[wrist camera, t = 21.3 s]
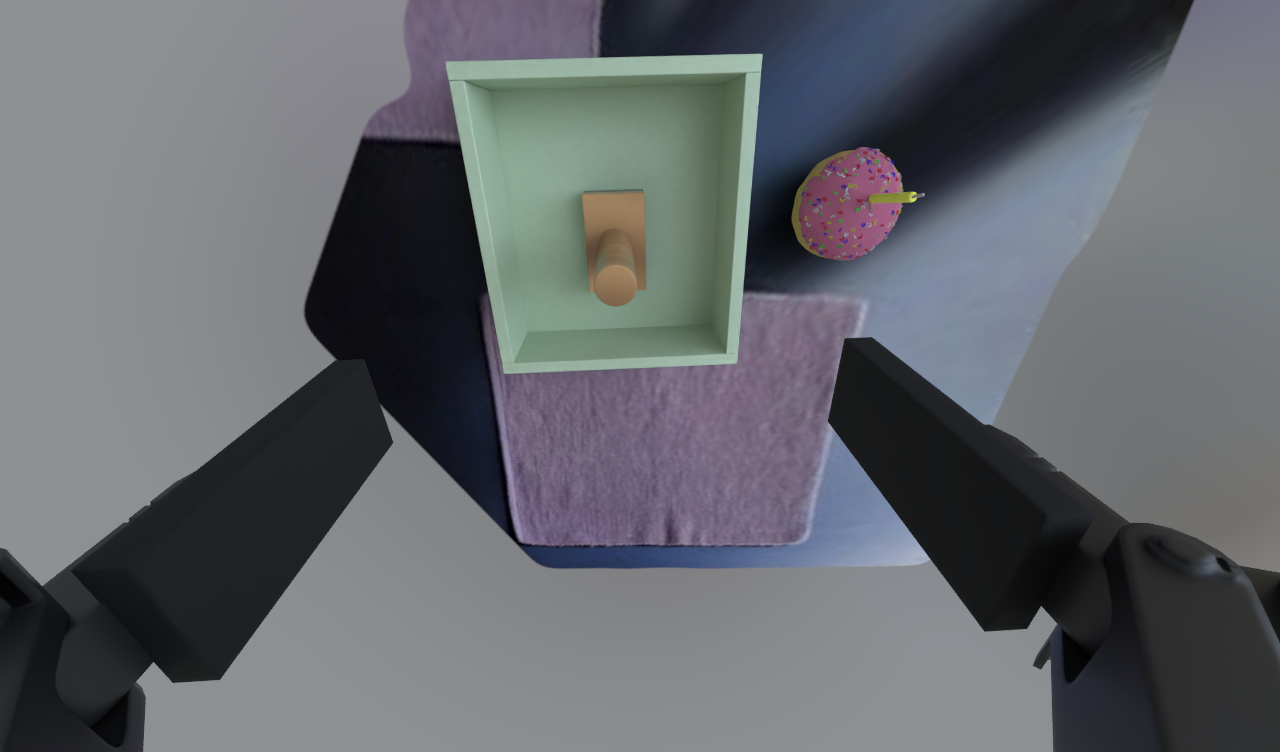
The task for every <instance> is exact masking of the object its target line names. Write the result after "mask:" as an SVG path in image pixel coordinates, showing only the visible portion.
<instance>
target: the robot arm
mask: <svg viewBox="0 0 1280 752" xmlns="http://www.w3.org/2000/svg"><path fill="white" fill-rule="evenodd" d="M828 422H829V424H830V425H831V426H832V428H833V429H834V430H835V432H836V433H837V434H838V436H839V437H840V438H841V440H842V441H843V442H844V444H845V445H846V446H847V448H848V449H849V450H850V452H851V453H852V454H853V456H854V457H855V458H856V460H857V461H858V462H859V464H860V465H861V467H862V468H863V469H864V471H865V472H866V473H867V475H868V476H869V477H870V479H871V480H872V481H873V483H874V484H875V485H876V487H877V488H878V489H879V491H880V492H881V493H882V495H883V496H884V497H885V499H886V500H887V501H888V503H889V504H890V505H891V507H892V508H893V509H894V511H895V512H896V513H897V515H898V516H899V517H900V519H901V520H902V521H903V523H904V524H905V525H906V527H907V528H908V530H909V531H910V532H911V534H912V535H913V536H914V538H915V539H916V540H917V542H918V543H919V544H920V546H921V547H922V548H923V550H924V551H925V552H926V554H927V555H928V556H929V558H930V559H931V560H932V562H933V563H934V564H935V566H936V567H937V568H938V570H939V571H940V572H941V574H942V575H943V576H944V578H945V579H946V580H947V582H948V583H949V584H950V586H951V587H952V588H953V590H954V591H955V593H956V594H957V595H958V596H959V598H960V599H961V600H962V602H963V603H964V604H965V606H966V607H967V608H968V610H969V611H970V612H971V614H972V615H973V616H974V618H975V619H976V621H977V622H978V623H979V625H980V626H981V627H982V629H983V630H984V631H1000V630H1016V629H1027V628H1028V626H1029V625H1030V623H1031V621H1032V619H1033V618H1034V617H1035V615H1036V613H1037V611H1038V610H1039V608H1040V606H1042V607H1043V608H1044V609H1045V610H1046V612H1047V613H1048V614H1049V615H1050V616H1051V617H1052V618H1053V619H1054V620H1055V621H1056V623H1057V626H1056V627H1055V629H1054V630H1053V632H1052V633H1051V635H1050V636H1049V638H1048V639H1047V641H1046V642H1045V644H1044V645H1043V647H1042V648H1041V650H1040V651H1039V653H1038V655H1037V656H1036V659H1035V661H1034V664H1033V666H1035V667H1037V668H1039V669H1042V667H1043V666H1044V664H1045V663H1046V661H1047V660H1049V659H1051V680H1052V681H1051V682H1052V718H1053V752H1280V573H1278V572H1272V571H1266V570H1260V569H1255V568H1249V567H1244V566H1239V565H1237V564H1236V563H1235V562H1233V561H1232V560H1231V559H1229V558H1228V557H1227V556H1225V555H1224V554H1223V553H1222V552H1220V551H1219V550H1217V549H1215V548H1213V547H1211V546H1210V545H1207V544H1206V543H1204V542H1202V541H1200V540H1198V539H1197V538H1194V537H1192V536H1189V535H1186V534H1184V533H1182V532H1179V531H1176V530H1174V529H1171V528H1167V527H1163V526H1159V525H1154V524H1150V523H1129V522H1128V521H1127V520H1125V519H1124V518H1123V517H1121V516H1120V515H1119V514H1117V513H1116V512H1115V511H1113V510H1112V509H1111V508H1109V507H1108V506H1107V505H1105V504H1104V503H1103V502H1101V501H1100V500H1099V499H1097V498H1096V497H1095V496H1093V495H1092V494H1091V493H1089V492H1088V491H1087V490H1085V489H1084V488H1083V487H1081V486H1080V485H1079V484H1077V483H1076V482H1075V481H1073V480H1072V479H1071V478H1069V477H1068V476H1066V475H1065V474H1064V473H1063V472H1057V470H1056V467H1055V466H1053V465H1052V464H1051V463H1049V462H1048V461H1047V460H1045V459H1044V458H1039V457H1038V454H1037V453H1036V452H1035V451H1033V450H1032V449H1030V448H1029V447H1028V446H1027V445H1025V444H1024V443H1023V442H1021V441H1020V440H1018V439H1017V438H1016V437H1013V436H1011V435H1009V434H1007V433H1005V432H1003V431H1001V430H999V429H997V428H995V427H993V426H991V425H984V424H982V423H981V422H980V421H978V420H977V419H976V418H975V417H973V416H972V415H971V414H969V413H968V412H967V411H966V410H964V409H963V408H962V407H961V406H959V405H958V404H957V403H955V402H954V401H953V400H952V399H950V398H949V397H948V396H946V395H945V394H944V393H943V392H941V391H940V390H939V389H937V388H936V387H935V386H934V385H932V384H931V383H930V382H928V381H927V380H926V379H925V378H923V377H922V376H921V375H920V374H918V373H917V372H916V371H914V370H913V369H912V368H911V367H909V366H908V365H907V364H905V363H904V362H903V361H902V360H900V359H899V358H898V357H896V356H895V355H894V354H893V353H891V352H890V351H889V350H888V349H886V348H885V347H884V346H882V345H881V344H880V343H879V342H877V341H876V340H875V339H873V338H872V337H867V338H845V340H844V345H843V349H842V354H841V359H840V364H839V369H838V374H837V379H836V384H835V389H834V394H833V399H832V404H831V408H830V413H829V418H828ZM392 444H393V441H392V438H391V435H390V432H389V429H388V426H387V423H386V420H385V417H384V415H383V412H382V409H381V406H380V403H379V400H378V397H377V395H376V392H375V389H374V386H373V383H372V380H371V377H370V375H369V372H368V369H367V366H366V363H365V360H364V359H360V360H337V361H334V362H333V363H332V364H330V365H329V366H328V367H327V368H325V369H324V370H323V371H322V372H320V373H319V374H318V375H317V376H315V377H314V378H313V379H312V380H310V381H309V382H308V383H306V384H305V385H304V386H303V387H301V388H300V389H299V390H298V391H296V392H295V393H294V394H292V395H291V396H290V397H289V398H287V399H286V400H285V401H284V402H282V403H281V404H280V405H279V406H277V407H276V408H275V409H274V410H272V411H271V412H270V413H269V414H268V415H266V416H265V417H264V418H262V419H261V420H260V421H258V422H257V423H256V424H255V425H253V426H252V427H251V428H250V429H248V430H247V431H246V432H245V433H243V434H242V435H241V436H240V437H238V438H237V439H236V440H235V441H233V442H232V443H231V444H230V445H228V446H227V447H226V448H224V449H223V450H222V451H221V452H219V453H218V454H217V455H216V456H214V457H213V458H212V459H211V460H209V461H208V462H207V463H206V464H204V465H203V466H202V467H200V468H199V469H198V470H197V471H195V472H193V473H191V474H190V475H188V476H186V477H184V478H182V479H181V480H179V481H177V482H175V483H174V484H173V485H171V486H170V487H169V488H167V489H166V490H165V491H164V492H162V493H161V494H160V495H158V496H157V497H156V498H155V499H153V500H152V501H151V505H150V506H144V507H143V508H142V509H141V510H139V511H138V512H137V513H135V514H134V515H133V516H132V517H130V518H129V522H128V523H123V524H121V525H120V526H119V527H118V528H116V529H115V530H114V531H112V532H111V533H110V534H109V535H107V536H106V537H105V538H104V539H102V540H101V541H100V542H99V543H97V544H96V545H95V546H93V547H92V548H91V549H89V550H88V551H87V552H86V553H84V554H83V555H82V556H81V557H79V558H78V559H77V560H75V561H74V562H73V563H72V564H70V565H69V566H68V567H66V568H65V569H64V570H63V571H61V572H60V573H59V574H57V575H56V576H55V577H54V578H52V579H51V580H50V581H48V582H47V583H46V584H45V585H43V586H41V585H40V584H39V583H38V582H37V581H36V580H35V579H34V578H33V577H32V576H31V574H29V573H28V571H27V570H26V569H25V568H24V567H23V566H22V565H20V563H19V562H18V561H17V560H16V559H15V558H14V557H13V556H12V555H11V554H10V553H9V552H8V551H7V550H6V549H2V548H0V752H143V741H144V721H145V699H146V697H145V695H144V692H143V689H142V688H141V686H140V685H138V684H137V683H136V681H137V680H138V679H139V678H140V676H141V675H142V674H143V673H144V672H145V671H146V670H147V669H148V667H149V666H150V665H151V664H152V663H153V662H154V663H155V664H156V665H157V666H158V667H159V668H160V669H161V670H162V671H163V673H164V674H165V675H166V676H167V677H168V678H169V679H170V680H171V681H172V682H173V683H176V682H193V681H209V680H220V679H221V678H222V676H223V675H224V673H225V672H226V671H227V669H228V668H229V667H230V665H231V664H232V662H233V661H234V660H235V658H236V657H237V656H238V654H239V653H240V651H241V650H242V649H243V647H244V646H245V645H246V643H247V642H248V641H249V639H250V638H251V637H252V635H253V634H254V632H255V631H256V630H257V628H258V627H259V626H260V624H261V623H262V621H263V620H264V619H265V617H266V616H267V615H268V613H269V612H270V610H271V609H272V608H273V606H274V605H275V604H276V602H277V601H278V600H279V598H280V597H281V596H282V594H283V593H284V591H285V590H286V589H287V587H288V586H289V585H290V583H291V581H292V580H293V579H294V578H295V576H296V575H297V573H298V572H299V571H300V569H301V568H302V567H303V565H304V564H305V563H306V561H307V560H308V559H309V557H310V556H311V554H312V553H313V552H314V550H315V549H316V548H317V546H318V545H319V543H320V542H321V541H322V539H323V538H324V537H325V535H326V534H327V532H328V531H329V530H330V528H331V527H332V526H333V524H334V523H335V522H336V520H337V519H338V517H339V516H340V515H341V513H342V512H343V511H344V509H345V508H346V507H347V505H348V504H349V503H350V501H351V500H352V498H353V497H354V496H355V494H356V493H357V491H358V490H359V489H360V487H361V486H362V485H363V483H364V482H365V480H366V479H367V478H368V476H369V475H370V474H371V472H372V471H373V470H374V468H375V467H376V466H377V464H378V463H379V461H380V460H381V458H382V457H383V456H384V455H385V453H386V452H387V451H388V449H389V448H390V446H391V445H392Z"/></svg>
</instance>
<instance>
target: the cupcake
mask: <svg viewBox="0 0 1280 752" xmlns="http://www.w3.org/2000/svg"><path fill="white" fill-rule="evenodd" d="M891 161H892V162H891ZM893 163H894V162H893V160H890V158H887V157H886V156H885V155H884V154H882V153H881V152H880V151H879V149H872V148H867V147H860V148H857V149H856V150H850V151H843V152H839V153H836V154H834V155H833V156H831V157H829V158H826V159H824V160H823V161H821V162H819V163H818V164H817V165H816V166H815V167H814V168H813V170H812V171H811V172H810V173H809V175H808V176H807V178H806V179H805V181H804V182H803V184H802V185H801V186H800V187H799V189H798V190H797V193H796V197H795V202H794V207H793V211H792V224H793V227H794V230H795V233H796V236H797V239H798V241H799V242H800V244H801V245H802V246H803V247H804V248H805V249H807V250H808V251H809V252H811V253H813V254H815V255H817V256H820V257H824V258H829V259H834V260H852V259H856V258H858V257H860V256H862V255H866V254H867V252H868V251H872V250H873V249H874V247H875V246H877V245H878V244H879V243H880V242H881V241H882V240H883V239H884V240H886V239H887V234H888V233H889V232H890V230H891V229H892V228H893V226H894V225H895V222H896V220H897V218H898V215H899V214H900V213H901V208H902V206H903V205H902V206H901V204H902V203H904V202H914V201H915V200H916V199H917V197H923V196H924V193H922V194H917V193H916V192H904V191H903V187H902V183H901V175H900V173H898V172H897V170H896V168H895V167H894V165H893ZM885 238H886V239H885Z"/></svg>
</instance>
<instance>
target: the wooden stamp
mask: <svg viewBox="0 0 1280 752" xmlns="http://www.w3.org/2000/svg"><path fill="white" fill-rule="evenodd" d="M582 203H583V216H584V228H585V241H586V254H587V266H588V279H589V291H590V292H595V293H596V295H597V297H598V298H599V299H600V300H601V301H602V302H603V303H605V304H606V305H609V306H614V307H617V306H622V305H625V304H627V303H628V302H630V301H631V300H632V299H633V297H634V296H635V294H636V291H637V290H646V240H645V193H644V191H643V189H624V190H593V191H584V192H583V194H582Z"/></svg>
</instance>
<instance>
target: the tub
mask: <svg viewBox="0 0 1280 752" xmlns="http://www.w3.org/2000/svg"><path fill="white" fill-rule="evenodd" d="M445 65H446V70H447V75H448V80H450V81H449V85H450V90H451V96H452V101H453V106H454V112H455V117H456V122H457V127H458V133H459V138H460V143H461V149H462V154H463V159H464V164H465V170H466V175H467V180H468V186H469V191H470V196H471V201H472V207H473V212H474V217H475V223H476V228H477V233H478V238H479V244H480V249H481V254H482V260H483V265H484V270H485V275H486V281H487V286H488V291H489V297H490V302H491V307H492V312H493V318H494V323H495V328H496V334H497V339H498V344H499V349H500V355H501V360H502V366H503V371H504V374H516V373H539V372H561V371H583V370H606V369H628V368H650V367H673V366H695V365H718V364H737V356H738V344H739V332H740V319H741V307H742V295H743V283H744V271H745V259H746V247H747V235H748V223H749V211H750V198H751V186H752V174H753V162H754V150H755V138H756V126H757V114H758V102H759V90H760V77H761V73H760V72H761V65H762V54H730V55H690V56H649V57H609V58H568V59H528V60H487V61H447V62H445ZM624 189H643V191H644V193H645V240H646V290H637V291H636V294H635V296H634V297H633V299H632V300H631V301H630V302H628V303H627V304H625V305H622V306H617V307H614V306H609V305H606V304H605V303H603V302H602V301H601V300H600V299H599V298H598V297H597V295H596V293H595V292H590V291H589V279H588V266H587V254H586V241H585V228H584V216H583V203H582V194H583V192H584V191H593V190H624Z"/></svg>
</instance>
